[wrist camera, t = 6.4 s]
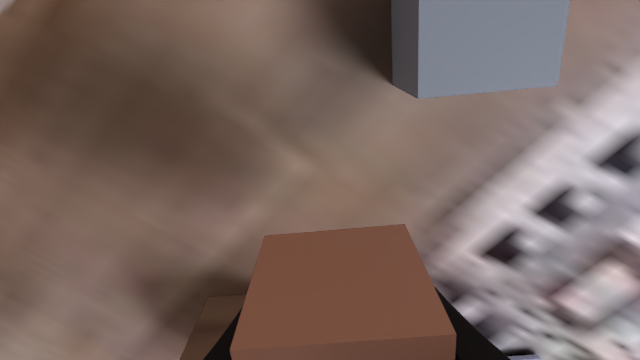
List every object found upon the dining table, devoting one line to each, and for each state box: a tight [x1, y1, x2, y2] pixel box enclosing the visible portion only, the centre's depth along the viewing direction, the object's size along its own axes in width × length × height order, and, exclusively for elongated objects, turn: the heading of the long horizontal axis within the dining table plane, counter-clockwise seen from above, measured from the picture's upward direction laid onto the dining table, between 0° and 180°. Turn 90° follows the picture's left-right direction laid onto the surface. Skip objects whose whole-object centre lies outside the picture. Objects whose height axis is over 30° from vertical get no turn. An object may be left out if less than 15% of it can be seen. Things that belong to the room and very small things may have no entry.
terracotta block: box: [230, 224, 457, 360], centre depth 11 cm, size 5×5×5 cm
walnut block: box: [180, 294, 247, 360], centre depth 20 cm, size 5×5×5 cm
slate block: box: [391, 0, 570, 99], centre depth 14 cm, size 5×5×5 cm
